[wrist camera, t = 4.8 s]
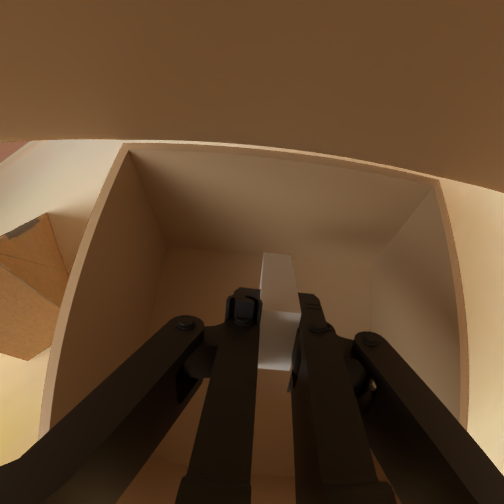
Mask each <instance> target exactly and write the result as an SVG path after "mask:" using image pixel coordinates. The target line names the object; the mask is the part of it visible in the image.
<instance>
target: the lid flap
mask: <svg viewBox="0 0 504 504" xmlns="http://www.w3.org/2000/svg"><path fill="white" fill-rule="evenodd" d="M58 139H116V140H184V141H205V142H222V143H235V144H247V145H258V146H268V147H277V148H286V149H294V150H302V151H309V152H316V153H323V154H329V155H336V156H342V157H348V158H354V159H359V160H365V161H370V162H375V163H380V164H385V165H390V166H395V167H399V168H404V169H409V170H413V171H417V172H421V173H426V174H430V175H434V176H438V177H442V178H447V179H451V180H456V181H460V182H464V183H468V184H472V185H476V186H480V187H484V188H488V189H492V190H495V191H499V192H503V193H504V0H0V143H3V142H16V141H32V140H58Z"/></svg>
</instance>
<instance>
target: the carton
mask: <svg viewBox="0 0 504 504" xmlns="http://www.w3.org/2000/svg"><path fill="white" fill-rule="evenodd" d="M264 252H267V253H276V254H285V255H291V260H292V265H293V270H294V276H295V281H296V286H297V292H299V293H309V294H314V295H315V296H316V297H318V298H319V300H320V303H321V306H322V310H323V313H324V316H325V319H326V322H328V323H329V324H331V325H332V326H333V327H334V329H335V331H336V334H337V335H338V336H340V337H344V338H347V339H352V340H354V337H355V335H356V334H357V333H358V332H362V331H370V332H375V333H377V334H379V335H381V336H382V337H383V338H385V339H386V340H387V341H388V343H389V344H390V345H391V346H392V347H393V348H394V349H395V350H396V351H397V352H398V353H399V355H400V356H401V357H402V358H403V359H404V360H405V361H406V362H407V363H408V365H409V366H410V367H411V368H412V369H413V370H414V371H415V372H416V373H417V375H418V376H419V377H420V378H421V379H422V380H423V381H424V382H425V384H426V385H427V386H428V387H429V388H430V389H431V390H432V391H433V393H434V394H435V395H436V396H437V397H438V398H439V399H440V401H441V402H442V403H443V404H444V405H445V406H446V408H447V409H448V410H449V411H450V412H451V413H452V414H453V416H454V417H455V418H456V419H457V420H458V421H459V423H460V424H461V425H462V426H463V427H464V429H465V430H466V431H467V423H468V405H469V355H468V336H467V323H466V313H465V304H464V296H463V288H462V281H461V275H460V269H459V263H458V257H457V252H456V247H455V242H454V238H453V233H452V229H451V224H450V220H449V216H448V212H447V208H446V204H445V201H444V197H443V193H442V190H441V187H440V183H439V180H436V179H432V178H428V177H424V176H419V175H415V174H411V173H406V172H402V171H397V170H392V169H387V168H382V167H377V166H372V165H367V164H361V163H356V162H350V161H344V160H338V159H331V158H325V157H318V156H311V155H304V154H296V153H288V152H280V151H271V150H261V149H250V148H239V147H226V146H211V145H193V144H166V143H123V145H122V147H121V149H120V151H119V153H118V155H117V157H116V159H115V161H114V163H113V165H112V167H111V169H110V172H109V174H108V176H107V178H106V180H105V183H104V185H103V187H102V189H101V192H100V194H99V197H98V199H97V201H96V204H95V206H94V209H93V211H92V214H91V216H90V219H89V221H88V224H87V227H86V229H85V232H84V235H83V237H82V240H81V243H80V246H79V249H78V252H77V255H76V258H75V261H74V264H73V267H72V270H71V273H70V276H69V280H68V283H67V286H66V290H65V293H64V297H63V301H62V304H61V308H60V312H59V316H58V320H57V324H56V328H55V332H54V337H53V342H52V346H51V351H50V356H49V361H48V367H47V373H46V379H45V385H44V392H43V399H42V407H41V416H40V426H39V439H38V441H39V440H40V439H41V438H42V437H43V436H44V435H45V434H46V433H47V432H48V431H49V430H50V429H52V428H53V427H54V426H55V425H56V424H57V423H58V422H59V421H60V420H61V419H62V418H63V417H65V416H66V415H67V414H68V413H69V412H70V411H71V410H72V409H73V408H74V407H75V406H76V405H78V404H79V403H80V402H81V401H82V400H83V399H84V398H85V397H86V396H87V395H88V394H90V393H91V392H92V391H93V390H94V389H95V388H96V387H97V386H98V385H99V384H100V383H102V382H103V381H104V380H105V379H106V378H107V377H108V376H109V375H110V374H111V373H112V372H114V371H115V370H116V369H117V368H118V367H119V366H120V365H121V364H122V363H123V362H124V361H126V360H127V359H128V358H129V357H130V356H131V355H132V354H133V353H134V352H135V351H136V350H138V349H139V348H140V347H141V346H142V345H143V344H144V343H145V342H146V341H147V340H149V339H150V338H151V337H152V336H153V335H154V334H155V333H156V332H157V331H158V330H160V329H161V328H162V327H163V326H164V325H165V324H166V323H167V322H168V321H169V320H171V319H172V318H174V317H177V316H180V315H190V316H195V317H197V318H200V319H201V320H202V321H203V322H204V325H205V326H215V325H219V324H221V323H223V322H224V321H225V311H226V299H227V298H228V297H229V296H231V295H233V294H234V291H235V290H236V289H238V288H239V287H244V288H253V289H259V288H260V280H261V271H262V262H263V254H264ZM291 372H292V362H291V367H290V371H285V370H273V369H262V368H258V372H257V389H256V405H255V421H254V436H253V451H252V466H251V481H250V484H251V504H296V494H295V467H294V444H293V424H292V405H291V389H290V392H287V389H288V385H289V380H290V376H291ZM209 380H210V378H204V379H203V382H202V384H201V386H200V387H199V389H198V390H197V392H196V393H195V394H194V396H193V397H192V399H191V400H190V402H189V403H188V404H187V406H186V407H185V409H184V410H183V412H182V413H181V414H180V416H179V417H178V419H177V420H176V421H175V423H174V424H173V426H172V427H171V428H170V430H169V431H168V433H167V434H166V435H165V437H164V438H163V440H162V441H161V442H160V444H159V445H158V447H157V448H156V449H155V451H154V452H153V453H152V455H151V456H150V458H149V459H148V460H147V462H146V463H145V464H144V466H143V467H142V469H141V470H140V471H139V473H138V474H137V475H136V477H135V478H134V479H133V481H132V482H131V483H130V485H129V486H128V487H127V489H126V490H125V491H124V493H123V494H122V495H121V497H120V498H119V499H118V501H117V502H116V503H115V504H175V500H176V496H177V492H178V488H179V485H180V482H181V479H182V477H183V476H186V474H187V470H188V466H189V462H190V458H191V454H192V450H193V446H194V442H195V437H196V433H197V429H198V425H199V421H200V417H201V413H202V409H203V405H204V401H205V397H206V393H207V389H208V384H209ZM372 385H373V387H374V388H375V389H376V385H375V383H374V381H373V384H372ZM370 451H371V449H370ZM371 455H372V459H373V462H374V466H375V470H376V475H377V477H378V480H379V481H381V482H388V483H389V484H390V485H391V483H390V482H389V480H388V478H387V477H386V475H385V473H384V471H383V470H382V468H381V466H380V464H379V463H378V461H377V459H376V457H375V456H374V454H373V452H372V451H371ZM391 486H392V485H391ZM392 489H393V487H392ZM393 491H394V494H395V498H396V502H397V504H402V503H401V501H400V499H399V497H398V496H397V494H396V492H395V490H394V489H393Z"/></svg>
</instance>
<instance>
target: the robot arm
mask: <svg viewBox="0 0 504 504" xmlns="http://www.w3.org/2000/svg"><path fill="white" fill-rule="evenodd" d="M291 362H292V372H291V376H290V380H289V385H288V389H287V392H290V389H291V405H292V424H293V444H294V467H295V494H296V504H397V502H396V498H395V494H394V491H393V489H394V490H395V492H396V494H397V496H398V497H399V499H400V501H401V503H402V504H504V476H503V475H502V474H501V472H500V471H499V470H498V469H497V467H496V466H495V465H494V464H493V462H492V461H491V460H490V459H489V458H488V456H487V455H486V454H485V453H484V451H483V450H482V449H481V448H480V447H479V445H478V444H477V443H476V442H475V441H474V439H473V438H472V437H471V436H470V435H469V433H468V432H467V431H466V430H465V429H464V427H463V426H462V425H461V424H460V423H459V421H458V420H457V419H456V418H455V417H454V416H453V414H452V413H451V412H450V411H449V410H448V409H447V408H446V406H445V405H444V404H443V403H442V402H441V401H440V399H439V398H438V397H437V396H436V395H435V394H434V393H433V391H432V390H431V389H430V388H429V387H428V386H427V385H426V384H425V382H424V381H423V380H422V379H421V378H420V377H419V376H418V375H417V373H416V372H415V371H414V370H413V369H412V368H411V367H410V366H409V365H408V363H407V362H406V361H405V360H404V359H403V358H402V357H401V356H400V355H399V353H398V352H397V351H396V350H395V349H394V348H393V347H392V346H391V345H390V344H389V343H388V341H387V340H386V339H385V338H383V337H382V336H381V335H379V334H377V333H375V332H370V331H362V332H358V333H357V334H356V335H355V337H354V340H352V339H347V338H344V337H340V336H338V335H337V334H336V331H335V329H334V327H333V326H332V325H331V324H329V323H328V322H326V319H325V316H324V313H323V310H322V306H321V303H320V300H319V298H318V297H316V296H315V295H314V294H309V293H299V292H297V286H296V281H295V276H294V270H293V265H292V260H291V255H285V254H276V253H267V252H264V254H263V262H262V271H261V280H260V288H259V289H253V288H244V287H239V288H238V289H236V290H235V291H234V294H233V295H231V296H229V297H228V298H227V299H226V311H225V321H224V322H223V323H221V324H219V325H215V326H205V325H204V322H203V321H202V320H201V319H200V318H197V317H195V316H190V315H180V316H177V317H174V318H172V319H171V320H169V321H168V322H167V323H166V324H165V325H164V326H163V327H162V328H161V329H160V330H158V331H157V332H156V333H155V334H154V335H153V336H152V337H151V338H150V339H149V340H147V341H146V342H145V343H144V344H143V345H142V346H141V347H140V348H139V349H138V350H136V351H135V352H134V353H133V354H132V355H131V356H130V357H129V358H128V359H127V360H126V361H124V362H123V363H122V364H121V365H120V366H119V367H118V368H117V369H116V370H115V371H114V372H112V373H111V374H110V375H109V376H108V377H107V378H106V379H105V380H104V381H103V382H102V383H100V384H99V385H98V386H97V387H96V388H95V389H94V390H93V391H92V392H91V393H90V394H88V395H87V396H86V397H85V398H84V399H83V400H82V401H81V402H80V403H79V404H78V405H76V406H75V407H74V408H73V409H72V410H71V411H70V412H69V413H68V414H67V415H66V416H65V417H63V418H62V419H61V420H60V421H59V422H58V423H57V424H56V425H55V426H54V427H53V428H52V429H50V430H49V431H48V432H47V433H46V434H45V435H44V436H43V437H42V438H41V439H40V440H39V441H37V442H36V443H35V444H34V445H33V446H32V447H31V448H30V449H29V450H28V451H27V452H26V453H25V454H23V455H22V456H21V457H20V458H19V459H17V460H15V461H12V462H10V463H8V464H5V465H3V466H0V504H115V503H116V502H117V501H118V499H119V498H120V497H121V495H122V494H123V493H124V491H125V490H126V489H127V487H128V486H129V485H130V483H131V482H132V481H133V479H134V478H135V477H136V475H137V474H138V473H139V471H140V470H141V469H142V467H143V466H144V464H145V463H146V462H147V460H148V459H149V458H150V456H151V455H152V453H153V452H154V451H155V449H156V448H157V447H158V445H159V444H160V442H161V441H162V440H163V438H164V437H165V435H166V434H167V433H168V431H169V430H170V428H171V427H172V426H173V424H174V423H175V421H176V420H177V419H178V417H179V416H180V414H181V413H182V412H183V410H184V409H185V407H186V406H187V404H188V403H189V402H190V400H191V399H192V397H193V396H194V394H195V393H196V392H197V390H198V389H199V387H200V386H201V384H202V382H203V379H204V378H210V380H209V384H208V389H207V393H206V397H205V401H204V405H203V409H202V413H201V417H200V421H199V425H198V429H197V433H196V437H195V442H194V446H193V450H192V454H191V458H190V462H189V466H188V470H187V474H186V476H183V477H182V479H181V482H180V485H179V488H178V492H177V496H176V500H175V504H251V484H250V481H251V466H252V451H253V436H254V421H255V405H256V389H257V372H258V368H262V369H273V370H285V371H290V367H291ZM373 381H374V383H375V385H376V389H375V388H374V387H373V385H372V384H373ZM370 449H371V451H372V452H373V454H374V456H375V457H376V459H377V461H378V463H379V464H380V466H381V468H382V470H383V471H384V473H385V475H386V477H387V478H388V480H389V482H390V483H391V485H392V486H391V485H390V484H389V483H388V482H381V481H379V480H378V477H377V475H376V470H375V466H374V462H373V459H372V455H371V451H370ZM392 487H393V489H392Z"/></svg>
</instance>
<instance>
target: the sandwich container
mask: <svg viewBox="0 0 504 504" xmlns="http://www.w3.org/2000/svg"><path fill="white" fill-rule="evenodd" d="M68 280H69V276H68V273H67V270H66V268H65V265H64V262H63V260H62V257H61V254H60V251H59V248H58V245H57V243H56V240H55V237H54V234H53V230H52V227H51V224H50V221H49V218H48V214H47V213H45V214H43V215H41V216H39V217H37V218H35V219H33V220H31V221H29V222H27V223H25V224H23V225H21V226H19V227H17V228H16V229H14V230H12V231H10V232H8V233H6V234H4V235H2V236H0V353H3V354H6V355H9V356H13V357H16V358H20V359H23V360H27V361H28V360H30V359H31V358H33V357H34V356H36V355H37V354H39V353H40V352H42V351H43V350H45V349H46V348H48V347H49V346H51V345H52V342H53V337H54V332H55V328H56V324H57V320H58V316H59V312H60V308H61V304H62V301H63V297H64V293H65V290H66V286H67V283H68Z"/></svg>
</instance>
